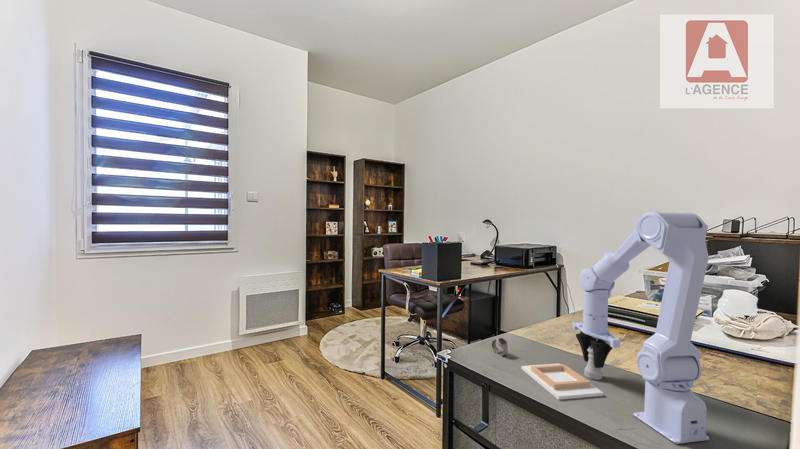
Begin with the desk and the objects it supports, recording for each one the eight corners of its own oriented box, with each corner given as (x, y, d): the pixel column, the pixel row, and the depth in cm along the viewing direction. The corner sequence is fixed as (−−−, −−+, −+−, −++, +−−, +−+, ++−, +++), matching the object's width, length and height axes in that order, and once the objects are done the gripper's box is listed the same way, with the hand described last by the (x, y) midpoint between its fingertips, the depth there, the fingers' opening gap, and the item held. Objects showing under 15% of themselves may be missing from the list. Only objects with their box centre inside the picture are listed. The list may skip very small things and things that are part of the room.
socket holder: (603, 395, 80) (603, 387, 80) (558, 399, 78) (558, 391, 77) (559, 366, 95) (559, 359, 95) (521, 368, 93) (521, 361, 93)
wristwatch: (501, 358, 100) (501, 341, 100) (488, 350, 106) (489, 334, 106) (510, 356, 102) (511, 340, 102) (497, 348, 107) (498, 333, 107)
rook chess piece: (605, 381, 87) (606, 351, 87) (587, 379, 88) (588, 349, 88) (599, 373, 91) (600, 344, 91) (581, 371, 92) (582, 343, 92)
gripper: (631, 321, 83) (629, 375, 83) (588, 306, 97) (586, 352, 97) (606, 322, 81) (605, 377, 82) (566, 307, 96) (565, 353, 96)
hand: (593, 364), depth 89 cm, fingers closed on rook chess piece, 3 cm apart
